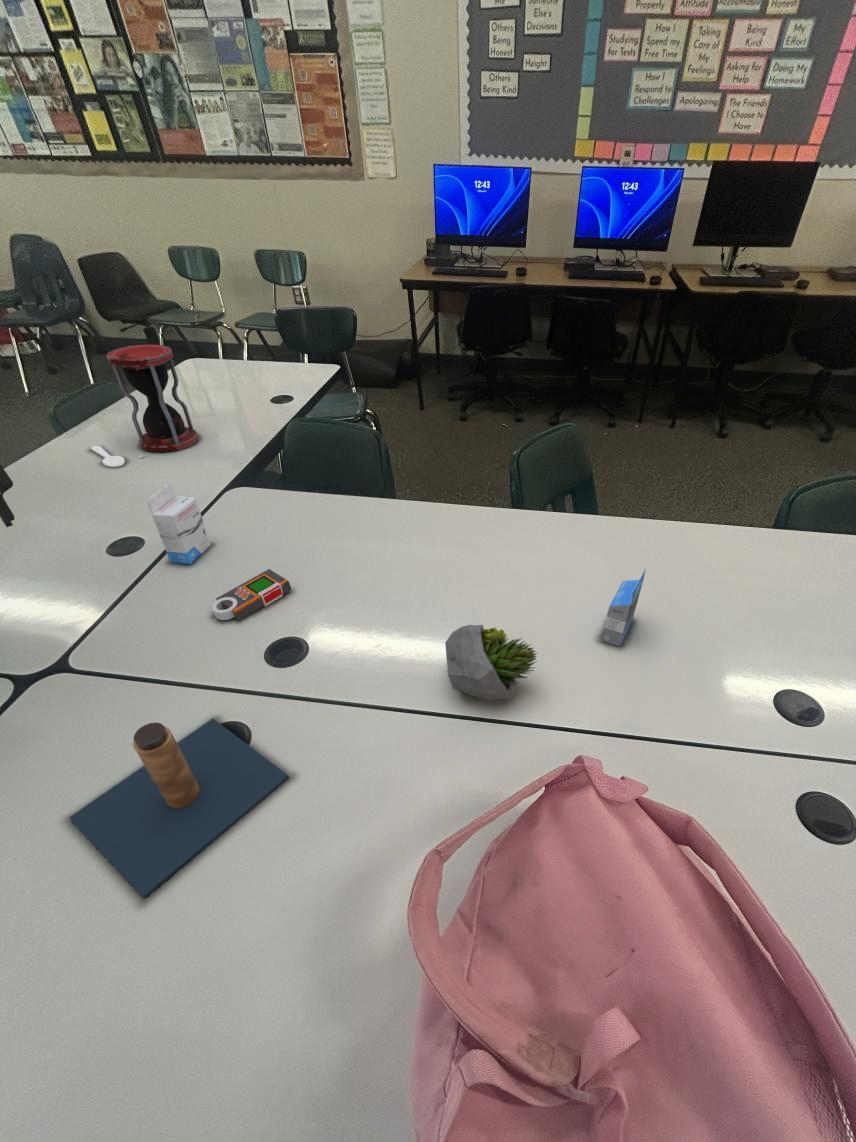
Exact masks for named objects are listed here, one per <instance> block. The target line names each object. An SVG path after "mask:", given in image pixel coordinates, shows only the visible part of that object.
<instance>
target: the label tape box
mask: <svg viewBox="0 0 856 1142" xmlns="http://www.w3.org/2000/svg"><path fill="white" fill-rule="evenodd" d="M645 574H646V567H645V568H644V569H643V571H642V574H641V576H640V578H639V579H633V580H631V579H630V580H622V582H621V583H620V585H619V587H618V589H617V591H616V593H615V595H614V597H613V599H612V601H611V602H610V604H609V607H608V610H607V614H606V618H605V623H604V626H603V631H602V635H601V639H600V640H601V641H602V642H604V643H607V644H609V645H612V646H616V647H621V645H622V644H623V641H624V640H625V637H626V635H627V633H628V631H629V629H630V626H631V624H632V621H633V619H634V615H635V612H636V609H637V605H638V601H639V598H640V595H641V590H642V586H643V582H644V580H645Z"/></svg>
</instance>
